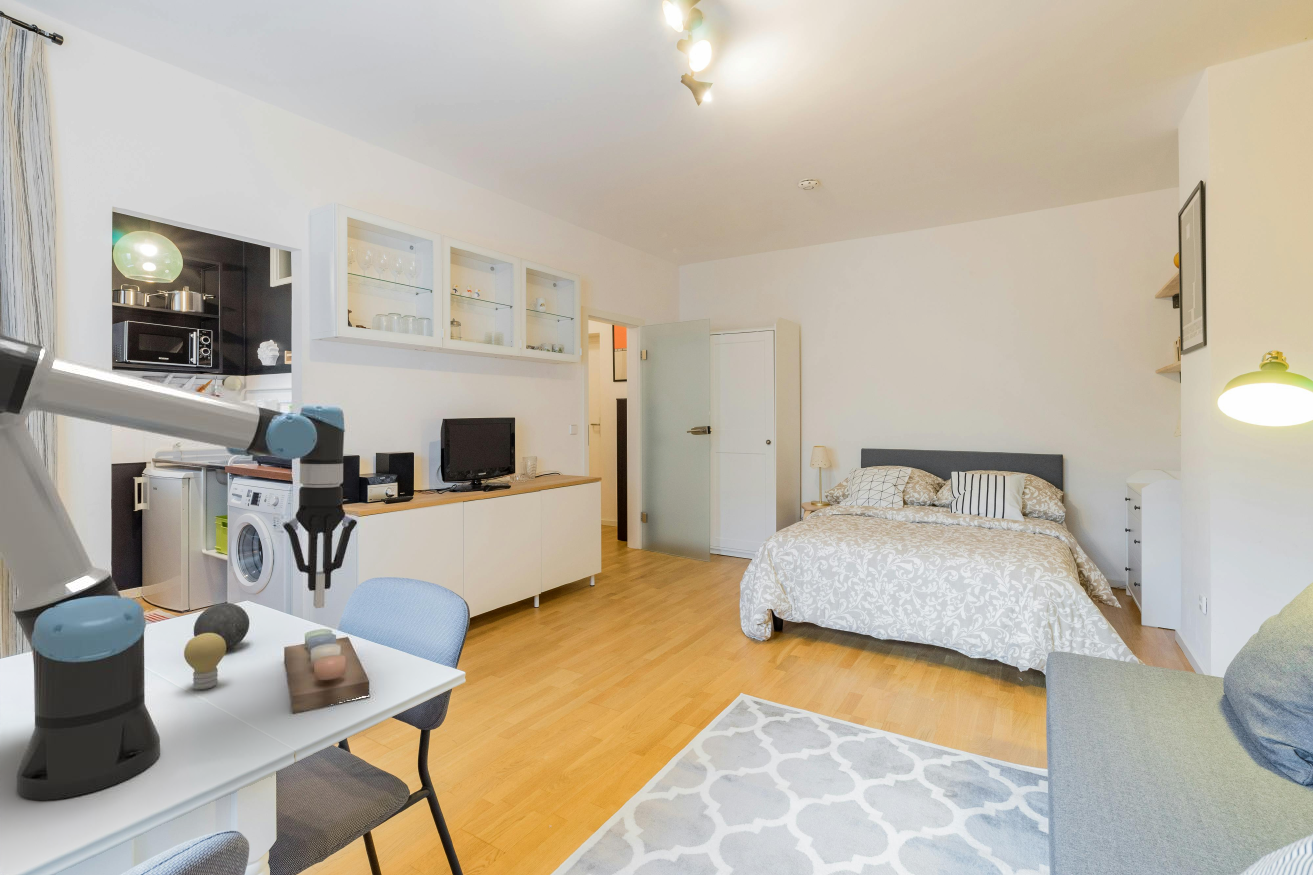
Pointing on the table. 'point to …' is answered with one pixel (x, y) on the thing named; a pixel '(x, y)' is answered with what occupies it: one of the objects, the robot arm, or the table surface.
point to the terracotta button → (329, 667)
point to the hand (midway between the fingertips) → (318, 605)
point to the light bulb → (205, 658)
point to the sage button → (315, 632)
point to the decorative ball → (224, 623)
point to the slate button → (320, 640)
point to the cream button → (324, 651)
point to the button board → (323, 692)
